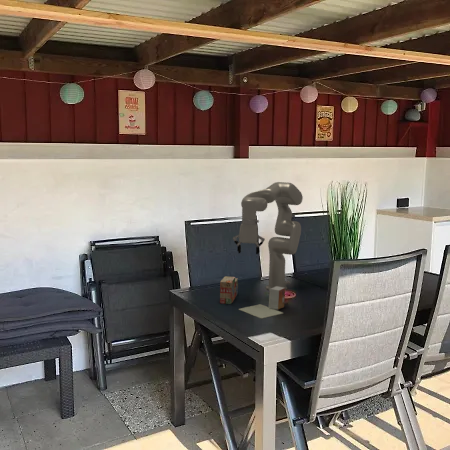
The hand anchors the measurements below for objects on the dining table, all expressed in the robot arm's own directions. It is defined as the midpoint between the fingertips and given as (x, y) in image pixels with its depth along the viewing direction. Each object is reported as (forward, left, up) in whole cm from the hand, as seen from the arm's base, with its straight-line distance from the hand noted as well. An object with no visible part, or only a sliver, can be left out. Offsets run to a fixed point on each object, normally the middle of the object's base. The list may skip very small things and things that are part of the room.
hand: (248, 253), depth 270 cm
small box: (-7, +16, -27) cm, 32 cm away
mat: (+4, +16, -27) cm, 32 cm away
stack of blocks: (+3, -12, -28) cm, 30 cm away
